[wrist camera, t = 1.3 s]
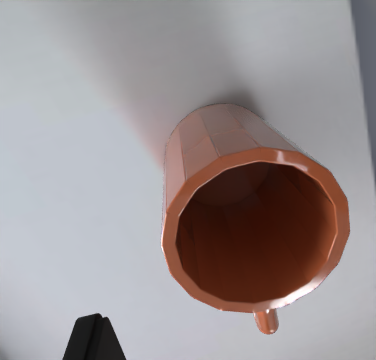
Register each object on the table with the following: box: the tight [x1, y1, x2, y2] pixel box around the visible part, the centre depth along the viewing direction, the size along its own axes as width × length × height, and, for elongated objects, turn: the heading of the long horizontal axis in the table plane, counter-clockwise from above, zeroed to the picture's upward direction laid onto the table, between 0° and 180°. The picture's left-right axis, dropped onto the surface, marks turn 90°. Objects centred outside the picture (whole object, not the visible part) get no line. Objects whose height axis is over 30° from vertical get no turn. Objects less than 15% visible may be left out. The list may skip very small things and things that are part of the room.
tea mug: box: [161, 103, 350, 334], centre depth 17 cm, size 10×7×9 cm
